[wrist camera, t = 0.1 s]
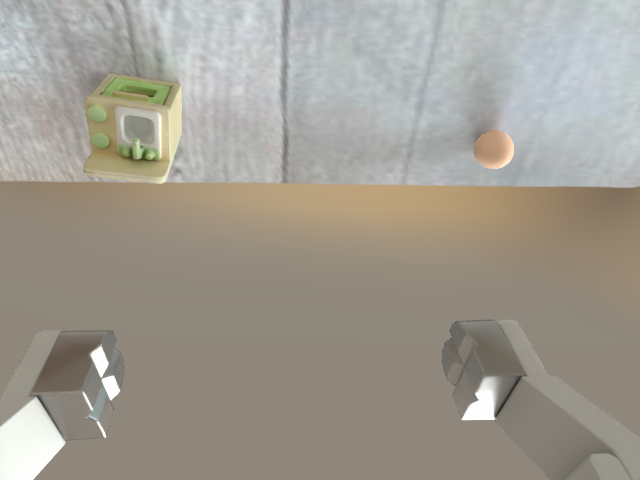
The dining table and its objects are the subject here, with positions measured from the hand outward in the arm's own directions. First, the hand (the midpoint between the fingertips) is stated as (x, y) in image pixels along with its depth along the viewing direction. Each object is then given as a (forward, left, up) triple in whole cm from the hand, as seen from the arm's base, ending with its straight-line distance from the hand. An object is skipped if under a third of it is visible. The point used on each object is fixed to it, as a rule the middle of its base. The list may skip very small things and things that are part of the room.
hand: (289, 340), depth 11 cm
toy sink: (+13, -16, -48) cm, 52 cm away
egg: (+17, +30, -48) cm, 59 cm away
